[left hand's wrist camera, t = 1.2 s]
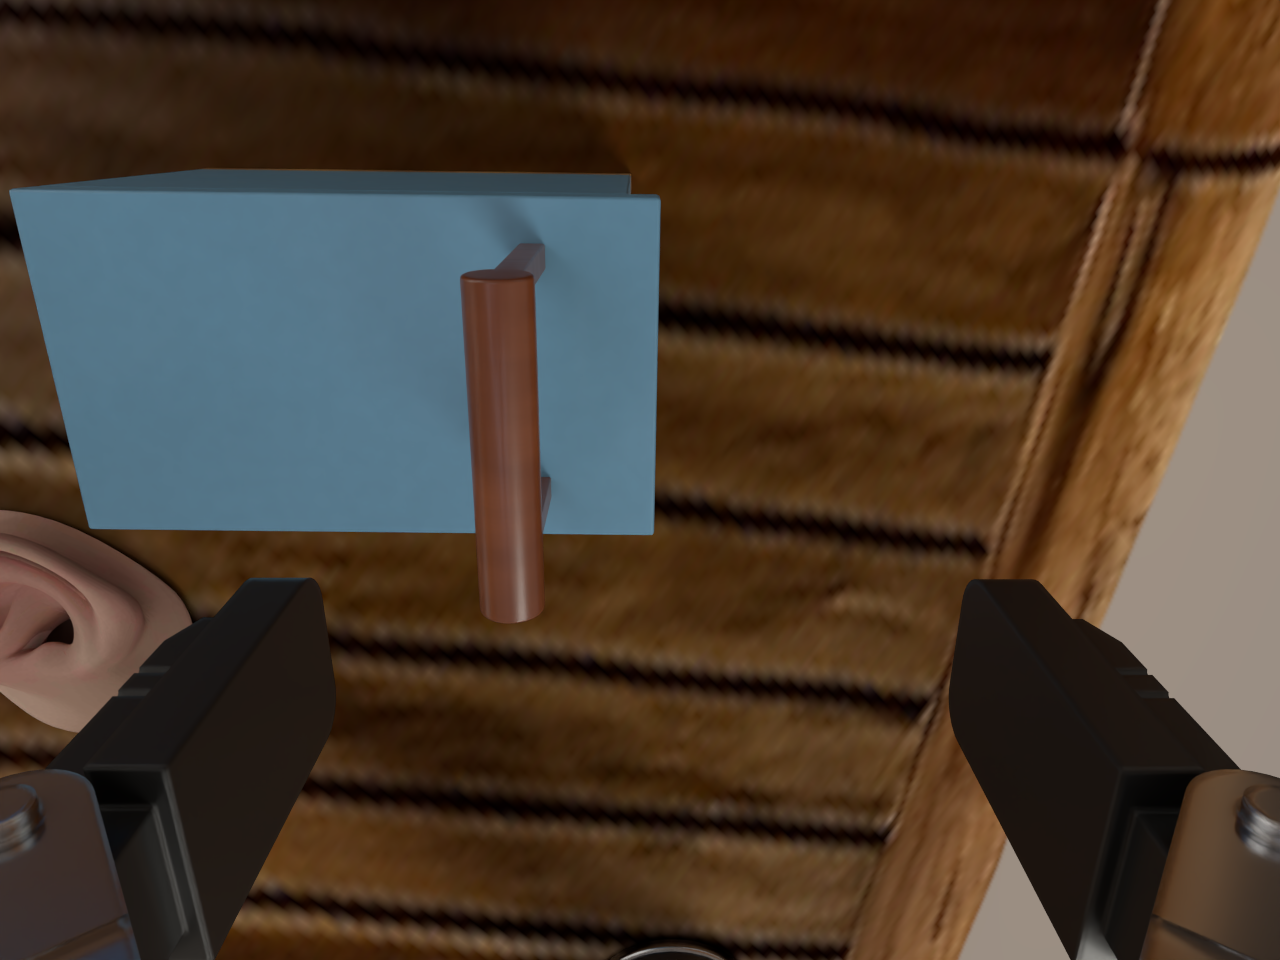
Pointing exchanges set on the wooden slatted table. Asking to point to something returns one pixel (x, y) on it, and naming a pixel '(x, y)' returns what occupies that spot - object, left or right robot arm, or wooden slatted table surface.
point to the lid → (356, 362)
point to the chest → (375, 181)
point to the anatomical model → (74, 619)
